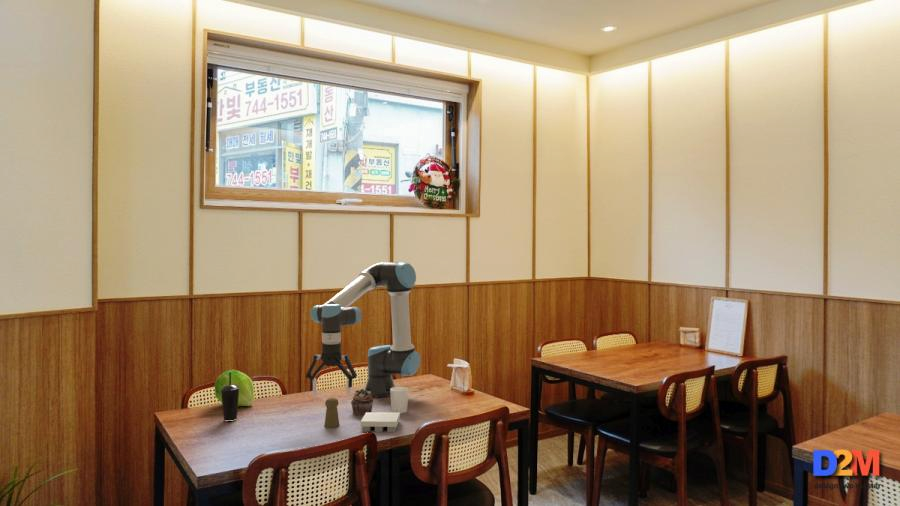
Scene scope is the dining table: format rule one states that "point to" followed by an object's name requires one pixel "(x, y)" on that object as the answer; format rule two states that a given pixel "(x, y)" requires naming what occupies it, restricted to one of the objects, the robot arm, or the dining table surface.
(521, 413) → the dining table surface
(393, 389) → the white cup
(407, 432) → the dining table surface
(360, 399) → the cupcake
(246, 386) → the lettuce
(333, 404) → the cork
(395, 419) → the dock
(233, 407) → the drinking cup
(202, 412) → the dining table surface
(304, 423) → the dining table surface
